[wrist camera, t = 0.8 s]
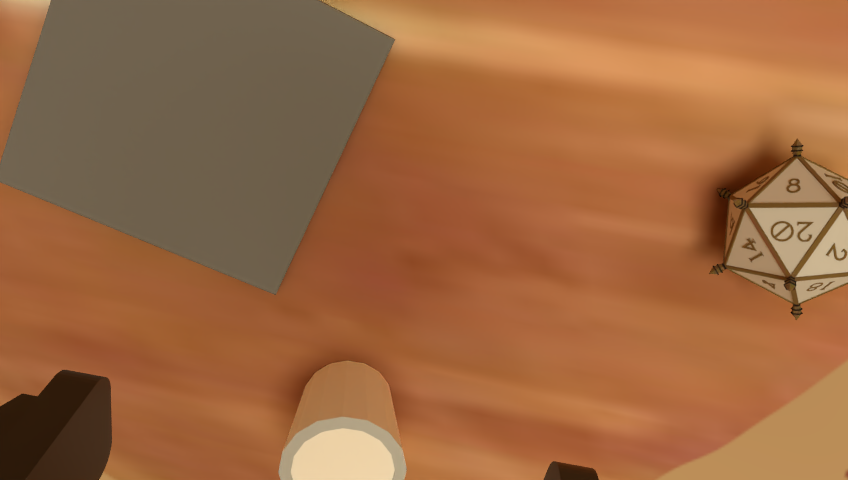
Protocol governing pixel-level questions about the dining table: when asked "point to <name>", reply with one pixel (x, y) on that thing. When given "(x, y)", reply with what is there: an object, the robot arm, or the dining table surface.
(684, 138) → the dining table surface
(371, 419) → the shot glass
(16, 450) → the robot arm
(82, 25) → the mat
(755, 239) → the game die
